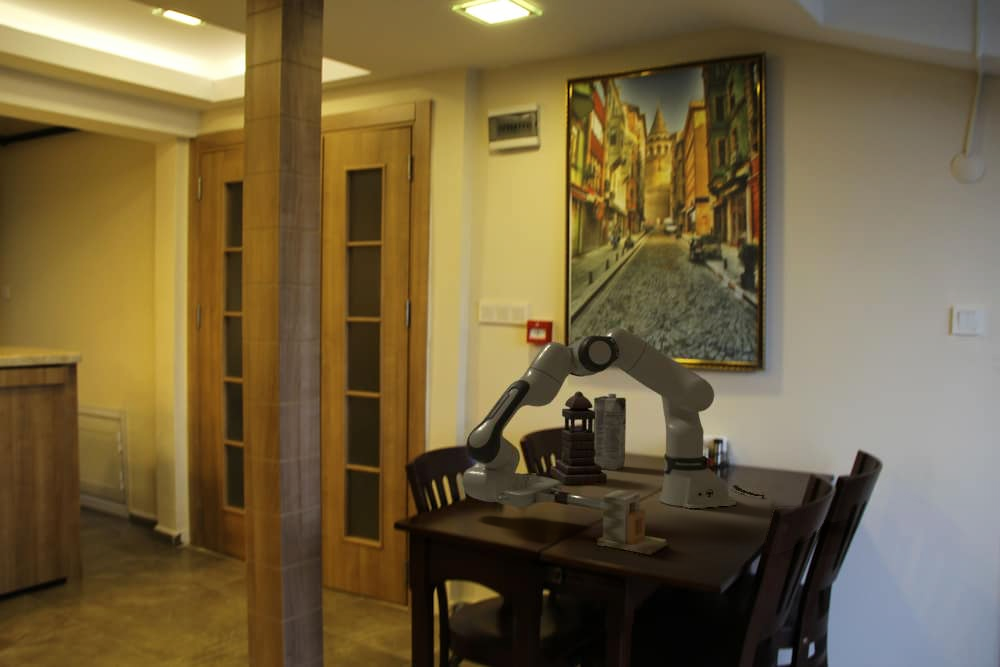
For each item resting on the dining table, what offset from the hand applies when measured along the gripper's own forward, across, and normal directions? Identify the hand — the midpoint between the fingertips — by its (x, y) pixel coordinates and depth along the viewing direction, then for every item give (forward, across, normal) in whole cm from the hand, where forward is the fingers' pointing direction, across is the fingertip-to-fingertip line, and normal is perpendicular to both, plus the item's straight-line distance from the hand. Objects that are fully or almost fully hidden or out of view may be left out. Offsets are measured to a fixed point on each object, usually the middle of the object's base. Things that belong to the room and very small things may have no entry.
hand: (559, 497), depth 214 cm
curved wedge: (+27, +74, +10) cm, 80 cm away
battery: (-26, +82, +9) cm, 86 cm away
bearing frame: (+21, 0, +9) cm, 23 cm away
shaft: (+7, 0, +2) cm, 7 cm away
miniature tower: (-26, +58, +9) cm, 65 cm away
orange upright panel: (+22, 0, +8) cm, 23 cm away
